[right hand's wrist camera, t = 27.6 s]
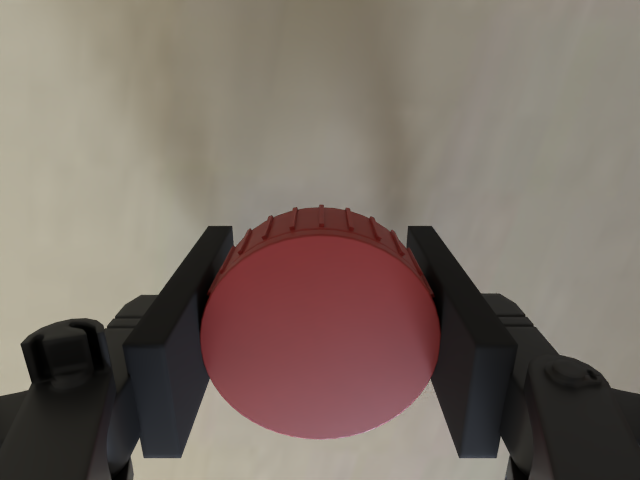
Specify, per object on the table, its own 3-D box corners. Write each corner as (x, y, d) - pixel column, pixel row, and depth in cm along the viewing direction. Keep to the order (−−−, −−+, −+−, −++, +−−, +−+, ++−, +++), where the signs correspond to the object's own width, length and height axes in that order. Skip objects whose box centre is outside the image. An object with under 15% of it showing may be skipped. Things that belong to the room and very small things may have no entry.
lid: (402, 397, 13) (416, 452, 11) (211, 377, 13) (192, 431, 11) (445, 218, 11) (472, 248, 9) (220, 190, 11) (199, 216, 9)
